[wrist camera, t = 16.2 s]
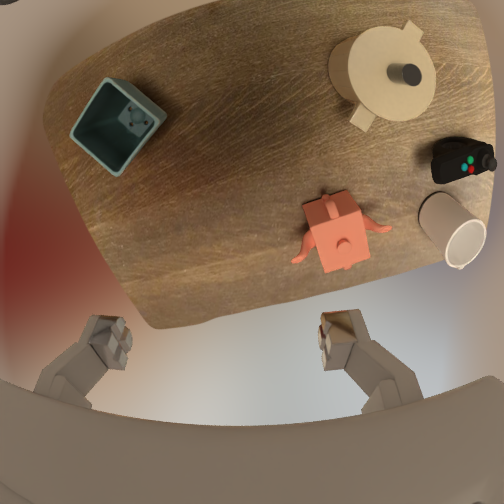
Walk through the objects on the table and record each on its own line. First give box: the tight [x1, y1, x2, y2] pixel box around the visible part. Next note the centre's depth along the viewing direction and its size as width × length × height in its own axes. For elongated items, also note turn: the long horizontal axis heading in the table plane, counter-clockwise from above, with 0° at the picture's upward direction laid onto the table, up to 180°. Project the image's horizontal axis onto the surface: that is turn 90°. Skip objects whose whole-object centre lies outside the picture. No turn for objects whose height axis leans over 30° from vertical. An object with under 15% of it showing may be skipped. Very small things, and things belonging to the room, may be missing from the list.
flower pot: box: [70, 77, 167, 177], centre depth 30 cm, size 9×9×9 cm
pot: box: [328, 20, 424, 132], centre depth 26 cm, size 10×16×8 cm, turn 155°
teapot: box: [291, 190, 392, 273], centre depth 40 cm, size 12×15×8 cm
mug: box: [418, 192, 486, 270], centre depth 38 cm, size 11×9×10 cm
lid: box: [346, 26, 436, 121], centre depth 21 cm, size 11×11×5 cm
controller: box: [431, 137, 497, 184], centre depth 31 cm, size 4×12×10 cm, turn 115°
